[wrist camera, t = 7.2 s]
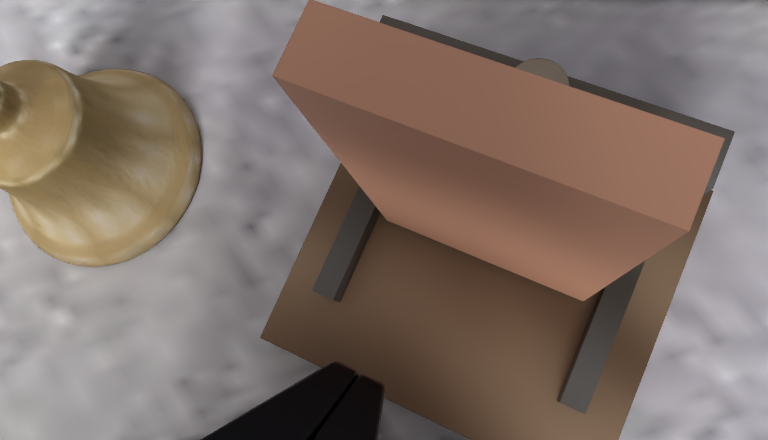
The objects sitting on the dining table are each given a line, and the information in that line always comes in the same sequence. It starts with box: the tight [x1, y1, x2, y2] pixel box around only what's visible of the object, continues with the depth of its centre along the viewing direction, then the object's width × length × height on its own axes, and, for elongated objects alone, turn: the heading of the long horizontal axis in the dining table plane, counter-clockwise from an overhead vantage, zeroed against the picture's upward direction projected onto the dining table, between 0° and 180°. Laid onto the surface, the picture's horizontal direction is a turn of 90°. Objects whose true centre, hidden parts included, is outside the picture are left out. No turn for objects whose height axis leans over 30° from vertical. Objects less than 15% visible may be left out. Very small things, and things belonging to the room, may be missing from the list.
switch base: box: [260, 15, 734, 440], centre depth 20 cm, size 10×12×7 cm
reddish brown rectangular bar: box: [272, 0, 725, 301], centre depth 16 cm, size 2×7×12 cm, turn 66°
